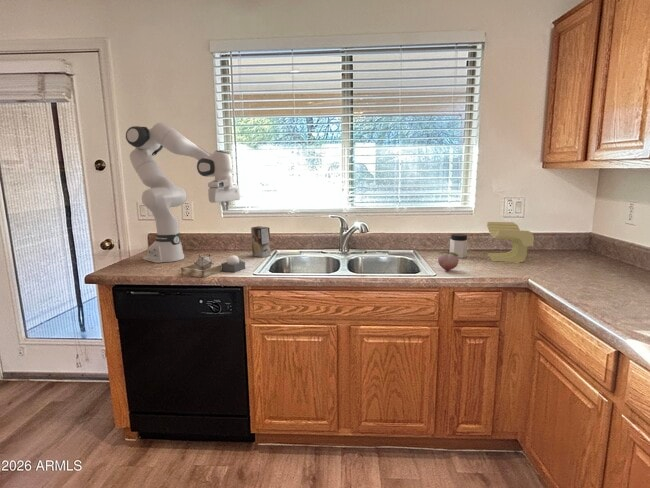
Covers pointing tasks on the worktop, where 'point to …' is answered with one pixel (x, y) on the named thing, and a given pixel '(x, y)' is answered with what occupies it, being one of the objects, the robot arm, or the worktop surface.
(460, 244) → the jar
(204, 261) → the grey spiky ball
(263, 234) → the coffee box
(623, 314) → the worktop surface
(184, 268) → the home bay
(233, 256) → the cream ball
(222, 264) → the base
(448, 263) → the decorative fruit
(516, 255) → the olive c-shaped block
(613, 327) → the worktop surface
